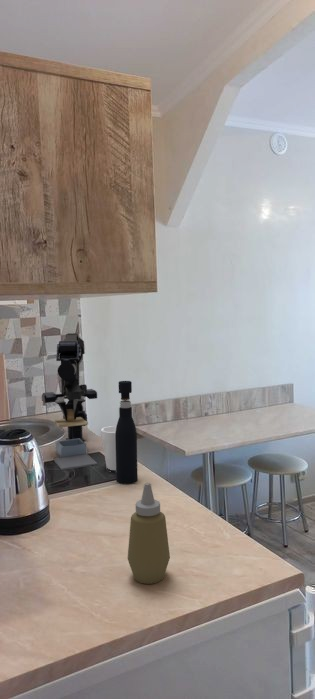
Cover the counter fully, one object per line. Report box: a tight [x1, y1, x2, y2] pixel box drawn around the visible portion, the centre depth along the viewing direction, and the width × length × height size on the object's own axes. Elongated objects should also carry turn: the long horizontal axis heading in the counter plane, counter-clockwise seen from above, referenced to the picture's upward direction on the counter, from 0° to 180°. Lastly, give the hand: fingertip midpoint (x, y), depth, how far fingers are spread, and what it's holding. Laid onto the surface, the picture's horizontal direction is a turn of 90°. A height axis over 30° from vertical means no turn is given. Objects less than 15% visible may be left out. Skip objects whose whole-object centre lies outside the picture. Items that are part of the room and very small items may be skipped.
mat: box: [53, 453, 98, 471], centre depth 162 cm, size 12×12×1 cm
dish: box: [55, 438, 88, 458], centre depth 173 cm, size 9×9×4 cm
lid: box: [53, 409, 89, 428], centre depth 170 cm, size 10×10×5 cm
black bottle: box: [115, 380, 139, 485], centre depth 143 cm, size 6×6×30 cm
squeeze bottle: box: [127, 482, 171, 585], centre depth 91 cm, size 8×8×18 cm
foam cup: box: [100, 425, 117, 470], centre depth 155 cm, size 10×9×13 cm
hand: (70, 419), depth 170 cm, fingers closed on lid, 3 cm apart
